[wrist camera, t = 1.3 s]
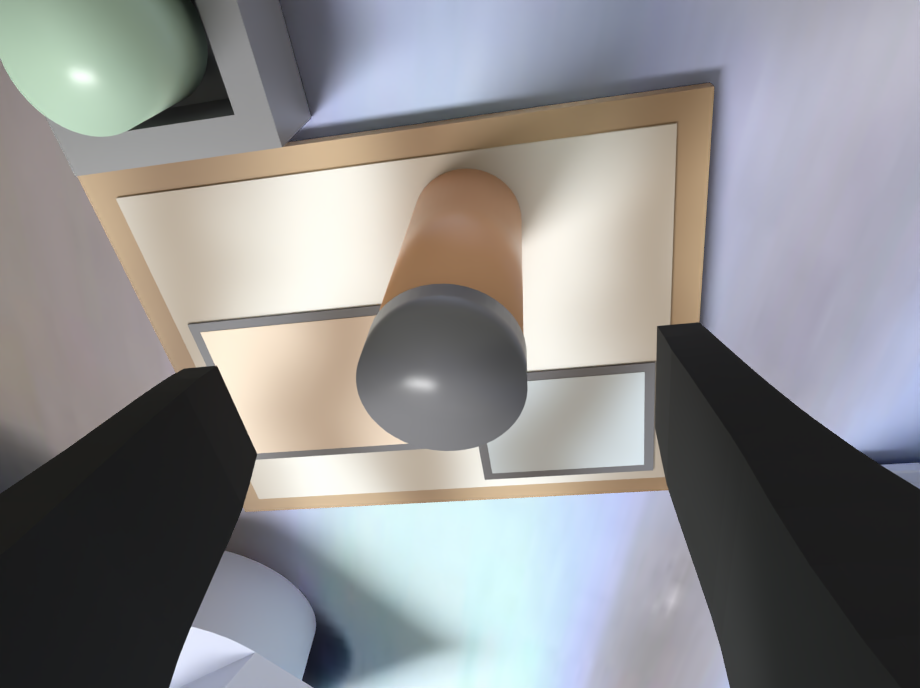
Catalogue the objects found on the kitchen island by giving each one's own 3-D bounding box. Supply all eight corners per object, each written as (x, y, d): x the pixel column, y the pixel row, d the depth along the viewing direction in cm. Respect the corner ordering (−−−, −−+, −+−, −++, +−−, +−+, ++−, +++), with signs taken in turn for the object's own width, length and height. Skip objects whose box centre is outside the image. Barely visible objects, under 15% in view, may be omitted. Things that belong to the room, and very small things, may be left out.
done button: (175, -56, 12) (109, -49, 10) (227, 95, 14) (178, 126, 12) (47, -30, 13) (-41, -20, 11) (111, 113, 14) (45, 145, 12)
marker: (517, 159, 15) (518, 305, 10) (528, 265, 17) (535, 446, 11) (401, 174, 16) (336, 323, 10) (423, 276, 17) (377, 455, 12)
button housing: (242, -131, 13) (193, -139, 11) (311, 117, 16) (281, 147, 14) (27, -86, 14) (-57, -86, 12) (128, 144, 16) (75, 176, 14)
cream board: (709, 82, 15) (716, 87, 14) (686, 480, 22) (689, 492, 21) (85, 170, 17) (74, 177, 16) (249, 503, 24) (244, 514, 24)
